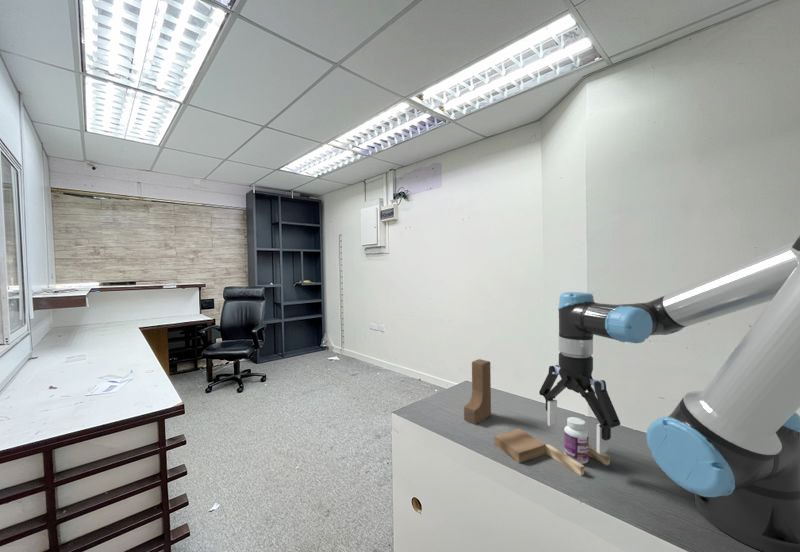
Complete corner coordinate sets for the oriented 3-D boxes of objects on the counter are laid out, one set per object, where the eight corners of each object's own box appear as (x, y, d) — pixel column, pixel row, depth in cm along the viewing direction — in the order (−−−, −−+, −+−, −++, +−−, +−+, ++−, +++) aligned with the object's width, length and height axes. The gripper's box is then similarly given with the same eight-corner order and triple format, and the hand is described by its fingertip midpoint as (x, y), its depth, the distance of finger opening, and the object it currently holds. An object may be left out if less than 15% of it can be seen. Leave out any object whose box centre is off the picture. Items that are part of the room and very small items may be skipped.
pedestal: (545, 454, 79) (545, 444, 79) (519, 463, 76) (519, 453, 76) (519, 437, 88) (519, 428, 88) (494, 444, 84) (494, 435, 84)
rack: (609, 464, 75) (609, 456, 75) (580, 475, 71) (580, 467, 71) (572, 443, 84) (572, 436, 84) (544, 452, 80) (544, 445, 80)
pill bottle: (581, 467, 74) (581, 427, 74) (560, 456, 78) (559, 419, 78) (592, 459, 77) (592, 421, 77) (571, 449, 81) (571, 413, 81)
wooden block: (475, 425, 95) (474, 367, 95) (463, 419, 98) (462, 364, 98) (491, 415, 101) (490, 361, 101) (479, 411, 104) (479, 358, 104)
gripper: (639, 366, 67) (638, 461, 68) (545, 341, 90) (545, 412, 91) (617, 370, 64) (617, 470, 65) (525, 344, 87) (525, 417, 88)
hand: (575, 436), depth 78 cm, fingers open, 13 cm apart
